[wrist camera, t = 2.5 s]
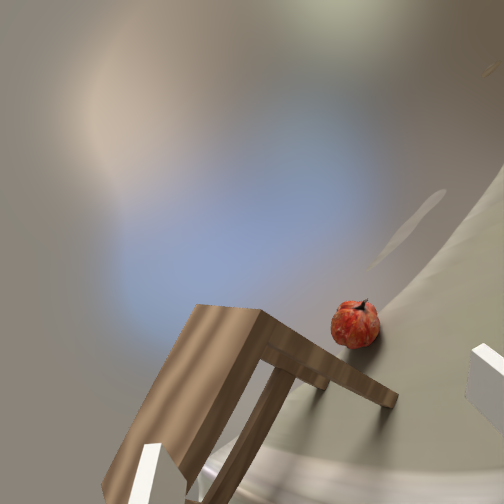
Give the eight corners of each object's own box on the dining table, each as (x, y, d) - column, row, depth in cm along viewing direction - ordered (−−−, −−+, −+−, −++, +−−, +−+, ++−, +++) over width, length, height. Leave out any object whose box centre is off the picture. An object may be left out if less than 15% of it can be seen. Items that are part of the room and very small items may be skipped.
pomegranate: (365, 368, 44) (390, 331, 38) (319, 359, 45) (338, 320, 39) (367, 330, 50) (389, 290, 43) (326, 321, 51) (342, 279, 44)
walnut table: (398, 394, 34) (261, 309, 26) (301, 569, 24) (123, 560, 15) (321, 376, 47) (196, 303, 39) (244, 519, 37) (101, 484, 28)
